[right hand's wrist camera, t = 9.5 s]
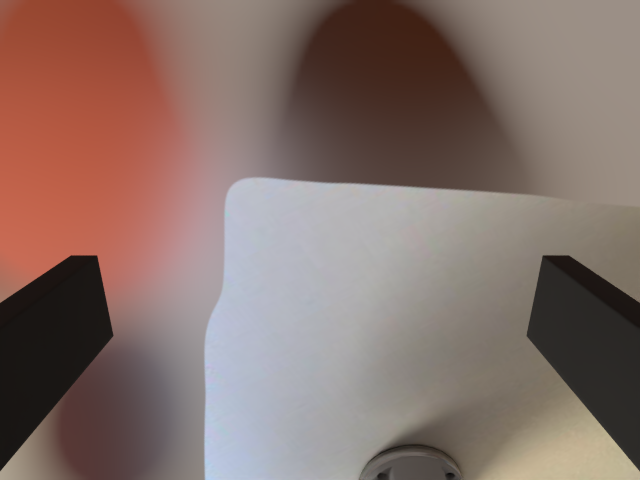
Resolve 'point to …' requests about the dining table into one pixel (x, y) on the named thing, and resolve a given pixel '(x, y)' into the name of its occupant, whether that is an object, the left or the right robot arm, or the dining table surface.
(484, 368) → the dining table surface
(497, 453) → the dining table surface
